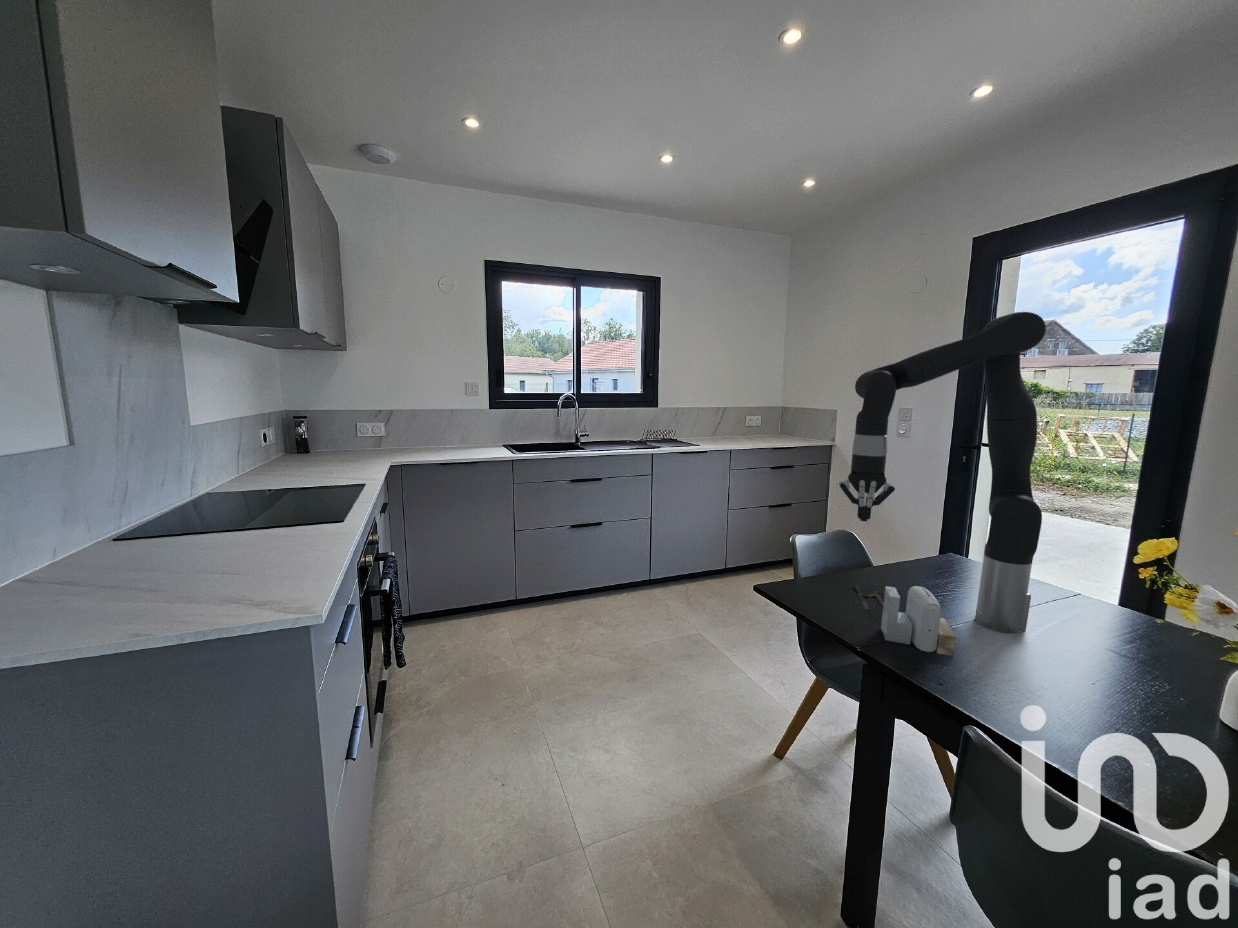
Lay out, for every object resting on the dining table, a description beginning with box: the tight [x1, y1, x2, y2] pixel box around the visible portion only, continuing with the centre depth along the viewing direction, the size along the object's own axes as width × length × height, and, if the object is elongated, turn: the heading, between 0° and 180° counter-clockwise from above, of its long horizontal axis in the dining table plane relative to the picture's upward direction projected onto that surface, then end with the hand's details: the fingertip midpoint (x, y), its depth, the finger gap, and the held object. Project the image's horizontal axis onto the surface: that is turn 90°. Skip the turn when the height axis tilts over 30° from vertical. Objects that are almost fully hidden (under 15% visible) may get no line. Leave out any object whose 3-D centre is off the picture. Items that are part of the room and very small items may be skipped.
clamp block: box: [935, 617, 957, 657], centre depth 110 cm, size 3×9×4 cm, turn 160°
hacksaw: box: [853, 584, 885, 610], centre depth 129 cm, size 24×10×2 cm, turn 165°
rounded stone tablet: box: [905, 585, 942, 653], centre depth 111 cm, size 10×4×12 cm, turn 168°
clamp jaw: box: [880, 585, 912, 645], centre depth 113 cm, size 5×6×11 cm
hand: (863, 520), depth 122 cm, fingers closed
